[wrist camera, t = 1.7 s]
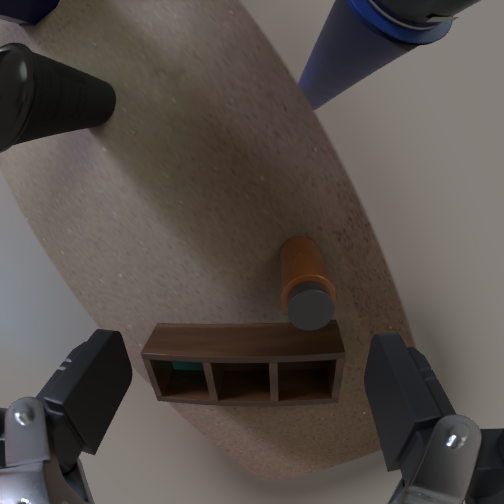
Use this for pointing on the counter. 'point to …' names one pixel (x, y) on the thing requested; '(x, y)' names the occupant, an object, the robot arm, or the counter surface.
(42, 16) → the bottle
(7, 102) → the drinking cup
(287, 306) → the spice bottle
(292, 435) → the counter surface
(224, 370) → the holder
